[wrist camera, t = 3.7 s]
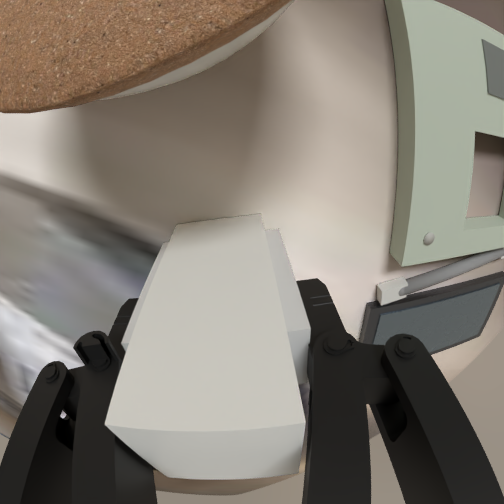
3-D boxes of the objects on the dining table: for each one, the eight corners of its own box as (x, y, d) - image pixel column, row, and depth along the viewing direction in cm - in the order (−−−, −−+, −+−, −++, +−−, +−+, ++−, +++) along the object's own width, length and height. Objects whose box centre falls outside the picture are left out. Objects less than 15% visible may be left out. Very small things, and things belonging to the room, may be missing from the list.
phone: (349, 365, 20) (353, 377, 19) (363, 297, 17) (371, 310, 16) (473, 328, 20) (480, 336, 19) (498, 267, 17) (507, 275, 16)
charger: (194, 293, 15) (168, 477, 6) (176, 224, 13) (104, 424, 4) (267, 285, 15) (298, 473, 6) (260, 213, 13) (305, 422, 4)
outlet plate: (389, 252, 14) (402, 267, 13) (383, -4, 8) (399, -12, 6) (519, 232, 14) (531, 241, 13) (530, 62, 8) (545, 64, 6)
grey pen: (376, 297, 16) (382, 307, 15) (376, 284, 15) (382, 292, 15) (507, 249, 15) (513, 254, 14) (509, 237, 15) (516, 242, 14)
